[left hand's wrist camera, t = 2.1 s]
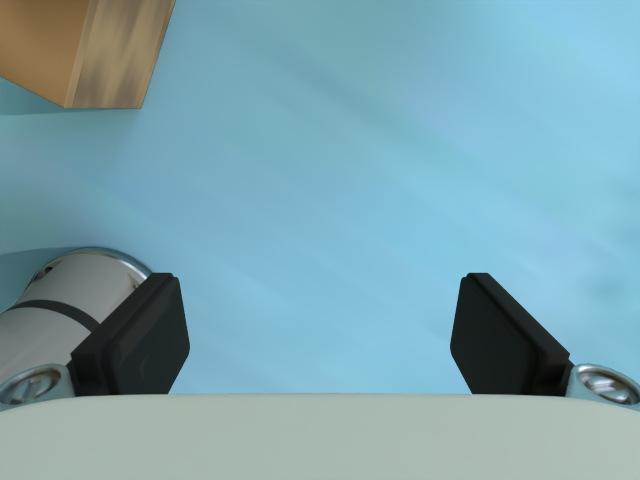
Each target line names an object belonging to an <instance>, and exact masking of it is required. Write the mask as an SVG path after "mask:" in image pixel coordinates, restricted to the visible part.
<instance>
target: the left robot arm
mask: <svg viewBox="0 0 640 480" xmlns="http://www.w3.org/2000/svg"><path fill="white" fill-rule="evenodd" d="M189 350H190V343H189V337H188V331H187V325H186V319H185V313H184V307H183V301H182V295H181V289H180V283H179V279H178V278H177V277H174V276H173V274H172V273H152V274H150V275H149V276H148V277H147V278H146V279H145V280H144V281H143V282H142V283H141V284H140V285H139V286H138V287H137V288H136V289H135V290H134V291H133V292H132V293H131V294H130V295H129V296H128V297H127V298H126V299H125V300H124V301H123V302H122V303H121V304H120V305H119V306H118V307H117V308H116V309H115V310H114V311H113V312H112V313H111V314H110V315H109V316H108V317H107V318H106V319H105V320H104V321H103V322H102V323H101V324H100V325H99V326H98V327H97V328H95V329H94V330H93V331H92V332H91V333H90V334H89V335H88V336H87V337H86V338H85V339H84V340H83V341H82V342H81V343H80V344H79V345H78V346H77V347H76V348H75V349H74V350H73V351H72V352H71V353H70V355H71V360H70V361H69V362H68V363H67V364H66V365H65V366H64V365H61V364H52V363H51V364H44V365H39V366H36V367H32V368H29V369H27V370H25V371H22V372H20V373H18V374H16V375H14V376H13V377H11V378H9V379H8V380H6V381H5V382H4V383H2V384H1V385H0V480H640V385H639V384H638V383H636V382H635V381H634V380H632V379H631V378H629V377H627V376H626V375H624V374H622V373H620V372H618V371H615V370H613V369H611V368H608V367H604V366H601V365H596V364H589V363H588V364H579V365H576V366H575V365H574V364H573V363H572V362H571V361H570V360H569V359H568V358H569V355H570V353H569V352H568V351H567V350H566V349H565V348H564V347H563V346H562V345H561V344H560V343H559V342H558V341H557V340H556V339H555V338H554V337H553V336H552V335H551V334H550V333H549V332H548V331H547V330H546V329H545V328H543V327H542V326H541V325H540V324H539V323H538V322H537V321H536V320H535V319H534V318H533V317H532V316H531V315H530V314H529V313H528V312H527V311H526V310H525V309H524V308H523V307H522V306H521V305H520V304H519V303H518V302H517V301H516V300H515V299H514V298H513V297H512V296H511V295H510V294H509V293H508V292H507V291H506V290H505V289H504V288H503V287H502V286H501V285H500V284H499V283H498V282H497V281H496V280H495V279H494V278H493V277H492V276H491V275H490V274H488V273H468V274H467V276H466V277H463V278H462V279H461V283H460V289H459V295H458V301H457V307H456V313H455V319H454V325H453V331H452V337H451V343H450V350H451V354H452V357H453V359H454V361H455V362H456V364H457V366H458V368H459V370H460V372H461V374H462V376H463V377H464V379H465V381H466V383H467V385H468V387H469V389H470V391H471V393H472V394H378V393H250V394H168V393H169V391H170V389H171V387H172V385H173V383H174V381H175V379H176V377H177V376H178V374H179V372H180V370H181V368H182V366H183V364H184V362H185V361H186V359H187V357H188V354H189Z"/></svg>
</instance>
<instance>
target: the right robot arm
mask: <svg viewBox="0 0 640 480" xmlns="http://www.w3.org/2000/svg"><path fill="white" fill-rule="evenodd" d="M36 273H37V272H36ZM150 274H152V272H151V271H150V270H149V269H148V268H147V267H145V266H144V265H143V264H141V263H140V262H139V261H137V260H135V259H134V258H132V257H130V256H128V255H126V254H124V253H121V252H118V251H115V250H111V249H107V248H100V247H86V248H79V249H75V250H72V251H69V252H67V253H65V254H63V255H61V256H59V257H58V258H56V259H54V260H52V261H51V262H49V263H48V264H46V265H45V266H44V267H43V268H42V269H41V270H40V272H39V273H38V274H37V275H36V274H35V275H36V277H35V278H34V276H35V275H34V276H33V278H34V280H33V278H32V280H33V281H32V280H31V281H32V282H31V281H30V283H29V285H28V286H27V288H26V290H25V291H24V293H23V294H22V296H21V297H20V298H19V300H18V301H17V302H16V304H15V305H14V306H13V307H11V308H10V309H8V310H6V311H5V312H3V313H2V314H0V385H1V384H2V383H4V382H5V381H6V380H8V379H9V378H11V377H13V376H14V375H16V374H18V373H20V372H22V371H25V370H27V369H29V368H32V367H36V366H39V365H44V364H51V363H52V364H61V365H64V366H65V365H66V364H67V363H68V362H69V361H70V360H71V355H70V353H71V352H72V351H73V350H74V349H75V348H76V347H77V346H78V345H79V344H80V343H81V342H82V341H83V340H84V339H85V338H86V337H87V336H88V335H89V334H90V333H91V332H92V331H93V330H94V329H95V328H97V327H98V326H99V325H100V324H101V323H102V322H103V321H104V320H105V319H106V318H107V317H108V316H109V315H110V314H111V313H112V312H113V311H114V310H115V309H116V308H117V307H118V306H119V305H120V304H121V303H122V302H123V301H124V300H125V299H126V298H127V297H128V296H129V295H130V294H131V293H132V292H133V291H134V290H135V289H136V288H137V287H138V286H139V285H140V284H141V283H142V282H143V281H144V280H145V279H146V278H147V277H148V276H149V275H150Z"/></svg>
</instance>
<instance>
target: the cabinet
mask: <svg viewBox="0 0 640 480" xmlns="http://www.w3.org/2000/svg"><path fill="white" fill-rule="evenodd" d="M175 1H176V0H0V77H2V78H4V79H6V80H8V81H10V82H12V83H14V84H17V85H19V86H21V87H23V88H25V89H27V90H29V91H31V92H33V93H35V94H37V95H39V96H41V97H43V98H45V99H47V100H49V101H51V102H53V103H55V104H57V105H59V106H61V107H63V108H134V109H141V107H142V104H143V101H144V98H145V94H146V91H147V88H148V85H149V82H150V79H151V76H152V73H153V69H154V66H155V63H156V60H157V57H158V54H159V51H160V48H161V44H162V41H163V38H164V35H165V32H166V29H167V26H168V23H169V19H170V16H171V13H172V10H173V7H174V4H175Z"/></svg>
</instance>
